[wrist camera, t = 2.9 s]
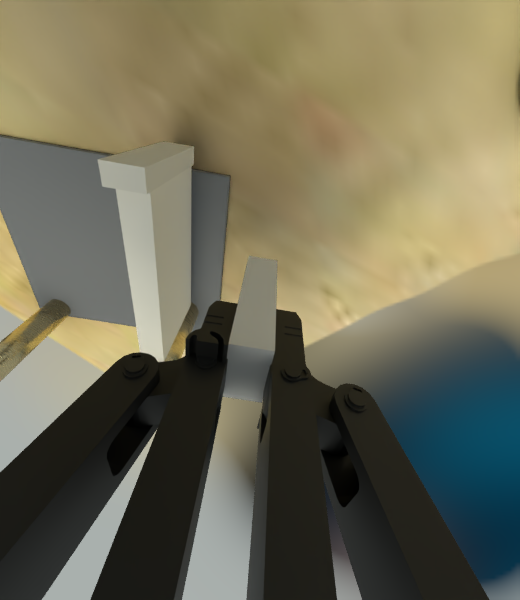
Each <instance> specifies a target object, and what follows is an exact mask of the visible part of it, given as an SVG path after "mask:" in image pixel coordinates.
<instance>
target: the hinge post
mask: <svg viewBox="0 0 520 600" xmlns="http://www.w3.org/2000/svg"><path fill="white" fill-rule="evenodd" d="M198 314H199V311H198V308H197V307H196V305H195V304H193V303H192V302H191V306H190V308H189V310H188V312H187V314H186V316H185V318H184V321H183V323H182V325H181V327H180V329H179V331H178V333H177V336H176V338H175V340H174V342H173V344H172V346H171V348H170V351H169V353H168V355H167V357H166V359H165V361H172V360H178V359H180V358H181V356H182V354H183V351H184V349H185V347H186V344H185V339H186V337H187V336H188V335H189V333H191V332H192V329H193V327H194V324H195V322H196V320H197V317H198Z"/></svg>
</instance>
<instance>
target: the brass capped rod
mask: <svg viewBox="0 0 520 600" xmlns="http://www.w3.org/2000/svg"><path fill="white" fill-rule="evenodd" d="M70 313H71V310H70V307H69V306H68V305H67V304H66V303H65V302H63V301H61V300H57V299H53V300H50V301H49V302H48V303H47V304H45V305H44V306H43V307H42V308H41V309H39V310H38V311H37V312H36V313H35V314H33V315H32V316H31V317H30V318H29V319H27V320H26V321H25V322H24V323H22V324H21V325H20V326H19V327H18V328H17V329H15V330H14V331H13V332H12V333H10V334H9V335H8V336H7V337H6V338H4V339H3V340H2V341H1V342H0V381H1V380H2V379H3V378H4V377H5V376H7V375H8V374H9V373H10V372H11V371H12V370H13V369H14V368H15V367H16V366H17V365H18V364H19V363H20V362H21V361H22V360H23V359H24V358H25V357H26V356H27V355H28V354H29V353H30V352H31V351H32V350H33V349H34V348H35V347H36V346H38V344H39V343H41V341H43V340H44V339H45V338H46V337H47V336H48V335H49V334H50V333H51V332H52V331H53V330H54V329H55V328H56V327H57V326H58V325H59V324H60V323H61V322H62V321H63V320H64V319H65V318H66V317H68V316H69V315H70Z"/></svg>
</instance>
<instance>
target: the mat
mask: <svg viewBox="0 0 520 600" xmlns="http://www.w3.org/2000/svg"><path fill="white" fill-rule="evenodd" d="M108 156H112V155H111V154H105V153H100V152H94V151H88V150H83V149H77V148H71V147H66V146H60V145H54V144H49V143H43V142H38V141H32V140H26V139H21V138H15V137H9V136H4V135H0V210H1V213H2V215H3V218H4V220H5V223H6V225H7V228H8V230H9V233H10V235H11V238H12V240H13V242H14V245H15V247H16V250H17V252H18V255H19V257H20V260H21V262H22V265H23V267H24V270H25V272H26V275H27V277H28V280H29V282H30V285H31V287H32V290H33V292H34V295H35V297H36V300H37V302H38V305H39V307H40V309H41V308H42V307H43V306H44V305H45V304H47V303H48V302H49V301H50V300H53V299H57V300H61V301H63V302H65V303H66V304H67V305H68V306H69V307H70V310H71V313H70V315H69V316H71V317H77V318H83V319H90V320H96V321H102V322H109V323H115V324H122V325H128V326H134V327H136V321H135V315H134V308H133V301H132V295H131V288H130V281H129V275H128V268H127V261H126V255H125V248H124V241H123V235H122V228H121V222H120V215H119V208H118V202H117V195H116V189H113V188H107V187H102V182H101V176H100V171H99V165H98V159H101V158H104V157H108ZM229 188H230V176H229V175H224V174H218V173H212V172H207V171H201V170H195V169H192V171H191V302H192V303H193V304H195V305H196V307H197V308H198V311H199V314H198V317H197V320H196V322H195V324H194V327H193V329H192V332H193V331H195V330H197V329H201V327H202V324H203V323H204V319H205V316H206V314H207V311H208V308H209V306H210V305H212V304H213V303H214V302H215V301H216V300H218V301H220V298H221V286H222V273H223V261H224V249H225V237H226V225H227V212H228V200H229Z"/></svg>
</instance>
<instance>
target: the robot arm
mask: <svg viewBox="0 0 520 600" xmlns="http://www.w3.org/2000/svg"><path fill="white" fill-rule="evenodd" d="M276 296H277V260H272V259H266V258H260V257H254V256H249V257H248V262H247V266H246V270H245V275H244V279H243V283H242V288H241V292H240V296H239V301H238V304H236V303H230V302H224V301H218V300H216V301H215V302H214V303H213V304H212V305H210V306H209V308H208V311H207V314H206V316H205V319H204V323H203V324H202V327H201V329H197V330H195V331H193V332H191V333H189V335H188V336H187V337H186V339H185V344H186V356H185V357H183V358H180V359H178V360H172V361H164V362H158V361H157V360H156V358H155V357H154V356H152V355H150V354H147V353H142V352H140V353H132V354H129V355H126V356H124V357H122V358H121V359H119V360H118V361H117V362H115V363H114V364H113V365H112V366H111V367H110V368H109V369H108V370H107V371H106V372H105V373H104V374H103V375H102V376H101V377H100V378H99V379H98V380H97V381H96V382H95V383H94V384H93V385H92V386H90V387H89V388H88V389H87V390H86V391H85V392H84V393H83V394H82V395H81V396H80V397H79V398H78V399H77V400H76V401H75V402H74V403H73V404H72V405H70V406H69V407H68V408H67V409H66V410H65V411H64V412H63V413H62V414H61V415H60V416H59V417H58V418H57V419H56V420H55V421H54V422H53V423H52V424H51V425H50V426H49V427H47V428H46V429H45V430H44V431H43V432H42V433H41V434H40V435H39V436H38V437H37V438H36V439H35V440H34V441H33V442H32V443H31V444H30V445H29V446H28V447H27V448H25V449H24V451H22V452H21V453H20V454H19V455H18V456H17V457H16V458H15V459H14V460H13V461H12V462H11V463H10V464H9V465H8V466H7V467H6V468H4V470H2V471H1V472H0V600H42V598H43V597H44V595H45V594H46V592H47V591H48V590H49V588H50V587H51V585H52V584H53V582H54V581H55V579H56V578H57V576H58V575H59V573H60V572H61V570H62V569H63V567H64V566H65V564H66V563H67V561H68V560H69V558H70V557H71V555H72V554H73V553H74V551H75V550H76V548H77V547H78V545H79V544H80V542H81V541H82V539H83V538H84V536H85V535H86V533H87V532H88V530H89V529H90V527H91V526H92V524H93V523H94V521H95V520H96V518H97V517H98V515H99V514H100V512H101V511H102V510H103V508H104V507H105V505H106V503H107V502H108V501H109V499H110V498H111V496H112V495H113V493H114V492H115V490H116V489H117V487H118V486H119V484H120V483H121V481H122V480H123V479H124V477H125V475H126V474H127V473H128V471H129V469H130V468H131V467H132V465H133V464H134V462H135V461H136V459H137V458H138V456H139V455H140V453H141V452H142V450H143V449H144V447H145V446H146V444H147V443H148V441H149V440H150V439H151V437H152V436H153V434H154V432H155V431H156V430H157V431H156V434H155V437H154V439H153V442H152V444H151V447H150V449H149V452H148V454H147V457H146V459H145V462H144V465H143V467H142V470H141V472H140V475H139V478H138V480H137V482H136V485H135V488H134V490H133V493H132V495H131V498H130V500H129V503H128V505H127V508H126V511H125V513H124V516H123V518H122V521H121V523H120V526H119V528H118V531H117V534H116V536H115V539H114V541H113V544H112V547H111V549H110V552H109V554H108V556H107V559H106V562H105V564H104V567H103V569H102V572H101V574H100V577H99V579H98V582H97V584H96V587H95V590H94V592H93V595H92V597H91V600H182V595H183V591H184V586H185V581H186V577H187V571H188V566H189V562H190V557H191V552H192V547H193V542H194V537H195V532H196V527H197V522H198V518H199V512H200V508H201V503H202V498H203V493H204V488H205V483H206V478H207V473H208V469H209V463H210V458H211V454H212V449H213V444H214V439H215V433H216V429H217V424H218V419H219V415H220V409H221V401H222V397H228V398H235V399H242V400H249V401H255V402H262V400H263V406H262V412H261V415H260V419H259V423H258V426H257V428H258V429H259V440H258V452H257V465H256V479H255V492H254V506H253V520H252V533H251V547H250V561H249V574H248V587H247V600H337V596H336V587H335V578H334V569H333V560H332V552H331V544H330V534H329V525H328V516H327V507H326V498H325V489H324V482H323V478H324V481H325V485H326V488H327V491H328V494H329V497H330V500H331V503H332V506H333V509H334V513H335V516H336V519H337V522H338V525H339V528H340V531H341V534H342V537H343V541H344V544H345V547H346V550H347V553H348V556H349V559H350V562H351V565H352V569H353V572H354V575H355V578H356V581H357V584H358V587H359V590H360V594H361V597H362V600H489V598H488V597H487V595H486V593H485V591H484V590H483V588H482V586H481V584H480V583H479V581H478V579H477V577H476V576H475V574H474V572H473V571H472V569H471V567H470V565H469V564H468V562H467V560H466V558H465V557H464V555H463V553H462V551H461V550H460V548H459V546H458V545H457V543H456V541H455V539H454V538H453V536H452V534H451V532H450V530H449V529H448V527H447V525H446V524H445V522H444V520H443V518H442V517H441V515H440V513H439V512H438V510H437V508H436V506H435V504H434V503H433V501H432V499H431V498H430V496H429V494H428V492H427V491H426V489H425V487H424V485H423V484H422V482H421V480H420V478H419V477H418V475H417V473H416V471H415V470H414V468H413V466H412V464H411V463H410V461H409V459H408V457H407V456H406V454H405V453H404V451H403V449H402V447H401V445H400V444H399V442H398V440H397V438H396V437H395V435H394V433H393V432H392V430H391V428H390V426H389V425H388V423H387V421H386V419H385V418H384V416H383V414H382V412H381V411H380V409H379V407H378V405H377V404H376V402H375V400H374V399H373V398H372V397H371V395H370V394H369V393H368V392H367V391H366V390H364V389H363V388H361V387H359V386H357V385H354V384H343V385H340V386H339V387H338V388H337V389H335V388H332V387H330V386H328V385H325V384H323V383H322V382H320V381H318V380H317V379H315V378H314V377H313V376H312V375H311V373H310V371H309V369H308V368H307V367H306V364H305V354H304V344H303V333H302V323H301V319H300V318H299V316H298V315H297V313H296V312H290V311H284V310H278V309H276ZM157 428H158V429H157Z"/></svg>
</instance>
